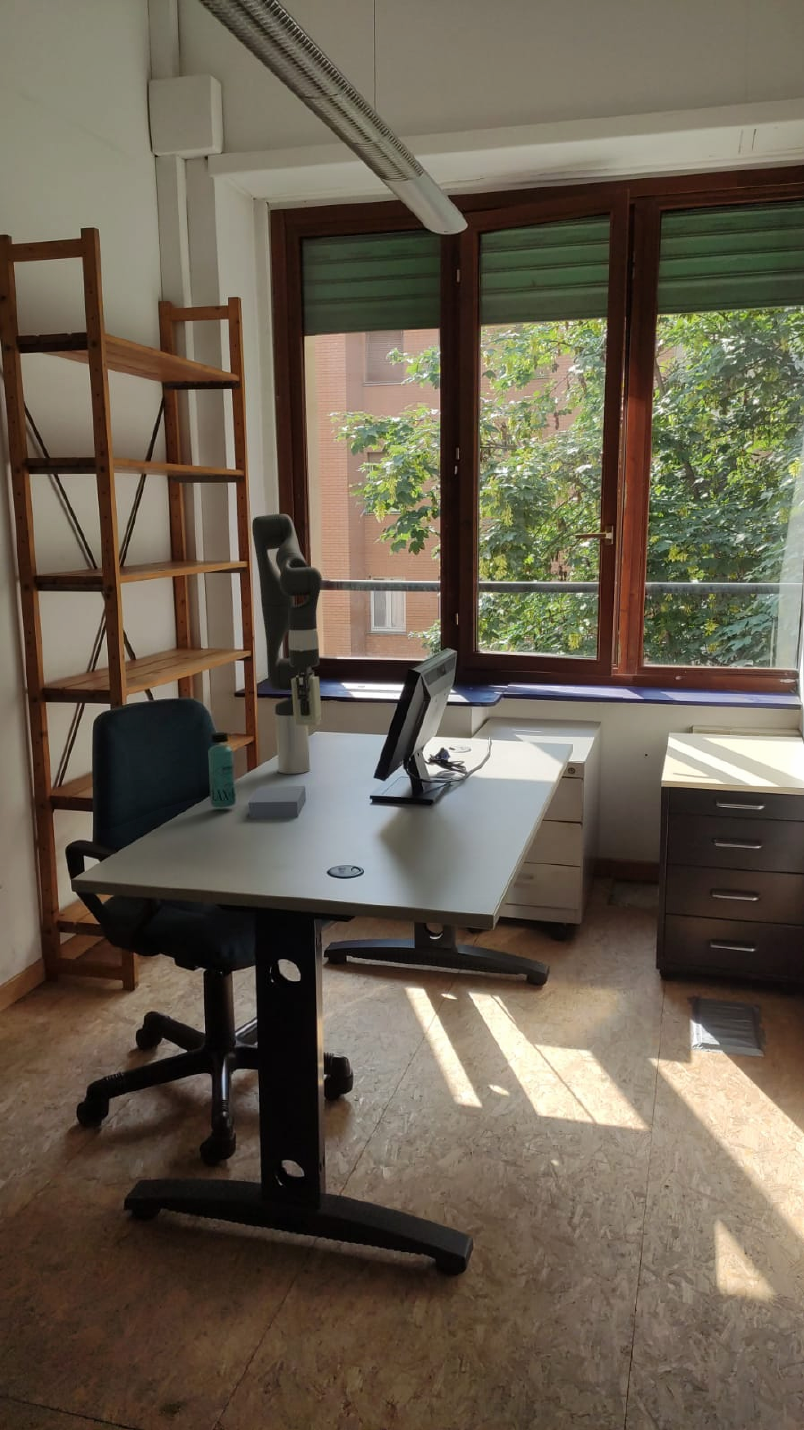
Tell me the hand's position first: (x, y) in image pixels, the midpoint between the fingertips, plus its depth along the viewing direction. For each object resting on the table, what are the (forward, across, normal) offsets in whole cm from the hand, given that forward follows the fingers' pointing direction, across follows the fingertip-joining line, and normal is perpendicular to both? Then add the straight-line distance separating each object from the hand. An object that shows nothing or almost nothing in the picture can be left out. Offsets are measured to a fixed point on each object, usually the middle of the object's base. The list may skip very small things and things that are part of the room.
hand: (307, 713), depth 269 cm
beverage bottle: (+24, +5, -22) cm, 33 cm away
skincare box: (+3, 0, 0) cm, 3 cm away
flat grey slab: (+24, +5, -8) cm, 26 cm away
